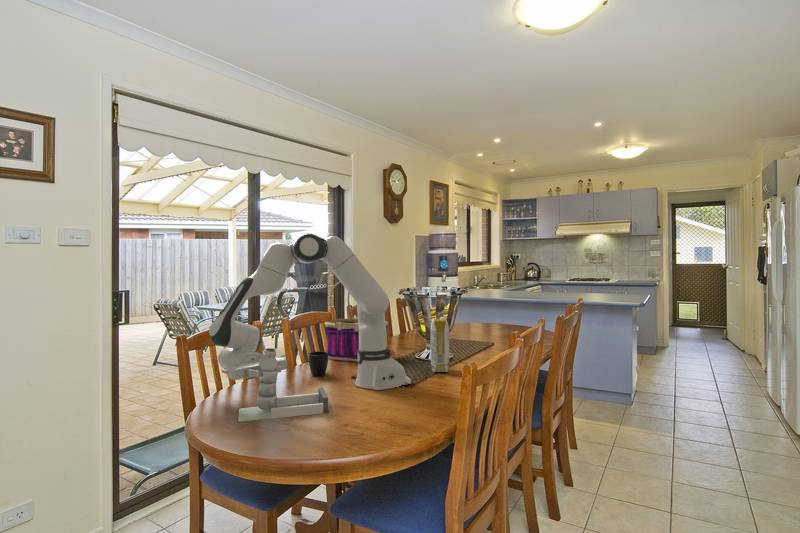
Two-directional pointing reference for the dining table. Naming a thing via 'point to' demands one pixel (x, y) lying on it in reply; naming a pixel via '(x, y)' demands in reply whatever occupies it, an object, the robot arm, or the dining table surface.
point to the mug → (318, 363)
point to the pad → (253, 414)
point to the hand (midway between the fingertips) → (269, 372)
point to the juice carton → (440, 345)
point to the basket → (343, 336)
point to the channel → (299, 410)
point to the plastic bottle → (268, 380)
